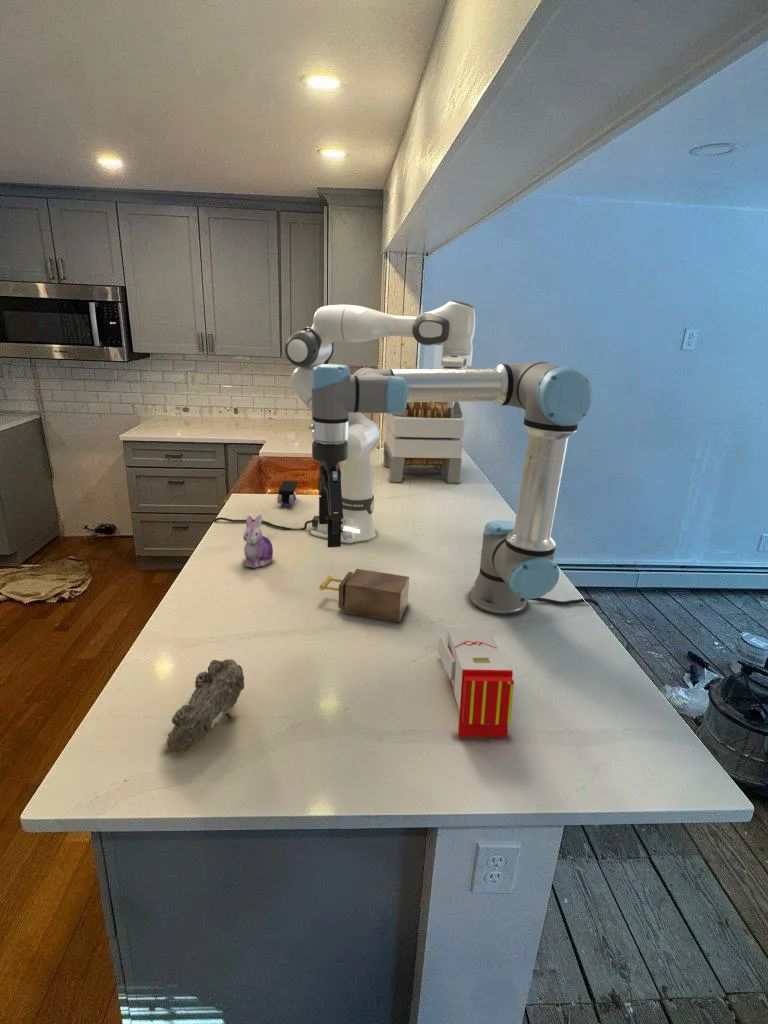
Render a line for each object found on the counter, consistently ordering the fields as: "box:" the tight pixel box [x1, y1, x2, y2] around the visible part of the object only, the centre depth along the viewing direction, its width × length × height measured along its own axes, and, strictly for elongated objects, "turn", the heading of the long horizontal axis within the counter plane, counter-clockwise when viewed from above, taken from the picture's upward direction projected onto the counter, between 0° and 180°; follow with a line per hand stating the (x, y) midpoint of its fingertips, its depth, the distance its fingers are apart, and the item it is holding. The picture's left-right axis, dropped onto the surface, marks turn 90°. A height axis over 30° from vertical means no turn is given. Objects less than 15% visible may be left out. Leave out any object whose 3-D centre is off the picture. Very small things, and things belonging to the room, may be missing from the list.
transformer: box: [383, 402, 465, 484], centre depth 268 cm, size 34×33×41 cm
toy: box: [437, 628, 515, 738], centre depth 117 cm, size 12×13×30 cm
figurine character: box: [276, 480, 299, 509], centre depth 224 cm, size 7×8×15 cm
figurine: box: [242, 514, 274, 569], centre depth 170 cm, size 9×10×15 cm
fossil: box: [166, 658, 245, 754], centre depth 106 cm, size 22×10×15 cm
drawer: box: [319, 571, 354, 609], centre depth 149 cm, size 19×8×7 cm, turn 75°
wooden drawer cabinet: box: [344, 568, 410, 623], centre depth 148 cm, size 14×10×8 cm, turn 75°
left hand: (452, 405), depth 174 cm, fingers open, 8 cm apart
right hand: (329, 534), depth 126 cm, fingers open, 13 cm apart
